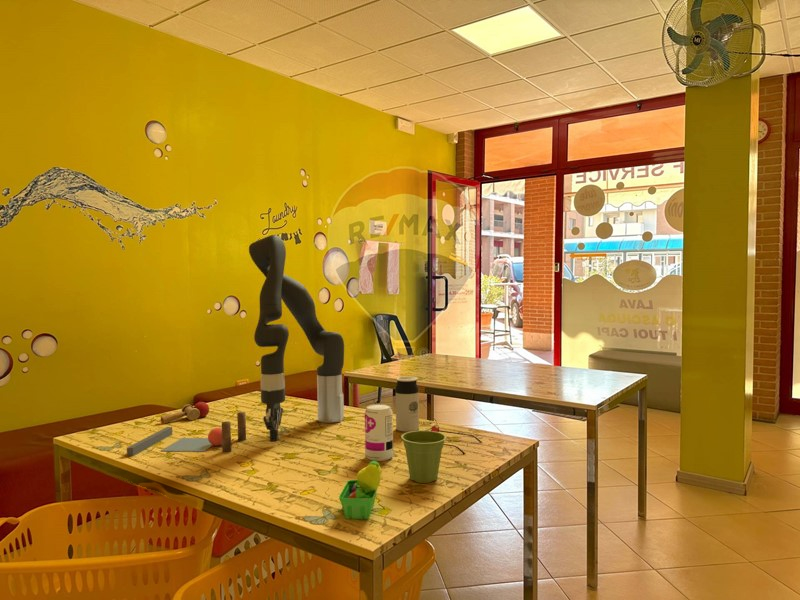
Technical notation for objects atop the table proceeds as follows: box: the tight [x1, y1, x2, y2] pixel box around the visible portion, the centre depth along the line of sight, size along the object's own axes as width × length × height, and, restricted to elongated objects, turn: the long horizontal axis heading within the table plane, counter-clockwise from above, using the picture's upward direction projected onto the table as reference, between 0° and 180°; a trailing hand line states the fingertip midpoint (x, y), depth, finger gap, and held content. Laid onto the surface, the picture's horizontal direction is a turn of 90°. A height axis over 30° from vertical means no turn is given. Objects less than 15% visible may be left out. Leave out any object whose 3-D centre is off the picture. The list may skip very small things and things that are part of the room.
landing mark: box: [160, 437, 214, 453], centre depth 180 cm, size 14×14×1 cm
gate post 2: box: [236, 411, 247, 442], centre depth 185 cm, size 3×3×9 cm
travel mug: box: [395, 375, 420, 433], centre depth 194 cm, size 8×8×18 cm
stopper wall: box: [126, 426, 173, 457], centre depth 181 cm, size 2×24×2 cm, turn 175°
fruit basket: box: [338, 460, 382, 520], centre depth 126 cm, size 11×9×11 cm
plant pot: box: [400, 429, 447, 484], centre depth 146 cm, size 12×12×11 cm
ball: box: [207, 427, 222, 447], centre depth 179 cm, size 6×6×6 cm
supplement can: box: [364, 403, 394, 462], centre depth 164 cm, size 8×8×15 cm
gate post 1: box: [221, 421, 232, 453], centre depth 172 cm, size 3×3×9 cm
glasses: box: [425, 425, 482, 455], centre depth 175 cm, size 14×16×5 cm
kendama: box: [160, 401, 210, 425], centre depth 213 cm, size 8×6×18 cm
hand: (274, 441), depth 177 cm, fingers closed
